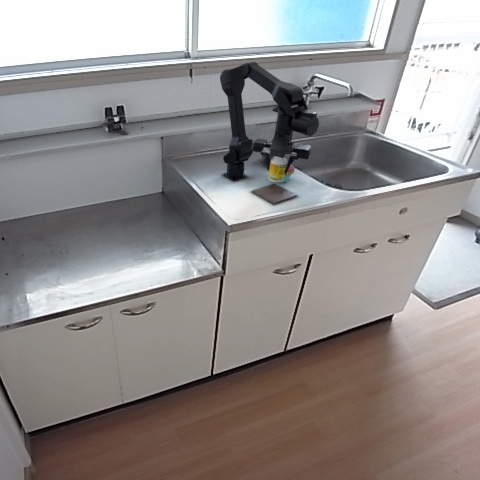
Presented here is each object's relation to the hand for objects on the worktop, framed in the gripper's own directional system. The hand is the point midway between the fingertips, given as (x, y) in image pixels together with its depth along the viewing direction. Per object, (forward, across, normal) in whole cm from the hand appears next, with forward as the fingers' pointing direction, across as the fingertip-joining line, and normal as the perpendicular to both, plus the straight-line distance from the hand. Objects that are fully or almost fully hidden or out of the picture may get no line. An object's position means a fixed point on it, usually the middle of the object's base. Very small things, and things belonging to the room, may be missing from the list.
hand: (277, 172), depth 136 cm
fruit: (+9, -7, +28) cm, 30 cm away
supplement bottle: (+3, 0, 0) cm, 3 cm away
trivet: (+9, 0, 0) cm, 9 cm away
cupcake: (+9, 0, +13) cm, 16 cm away
